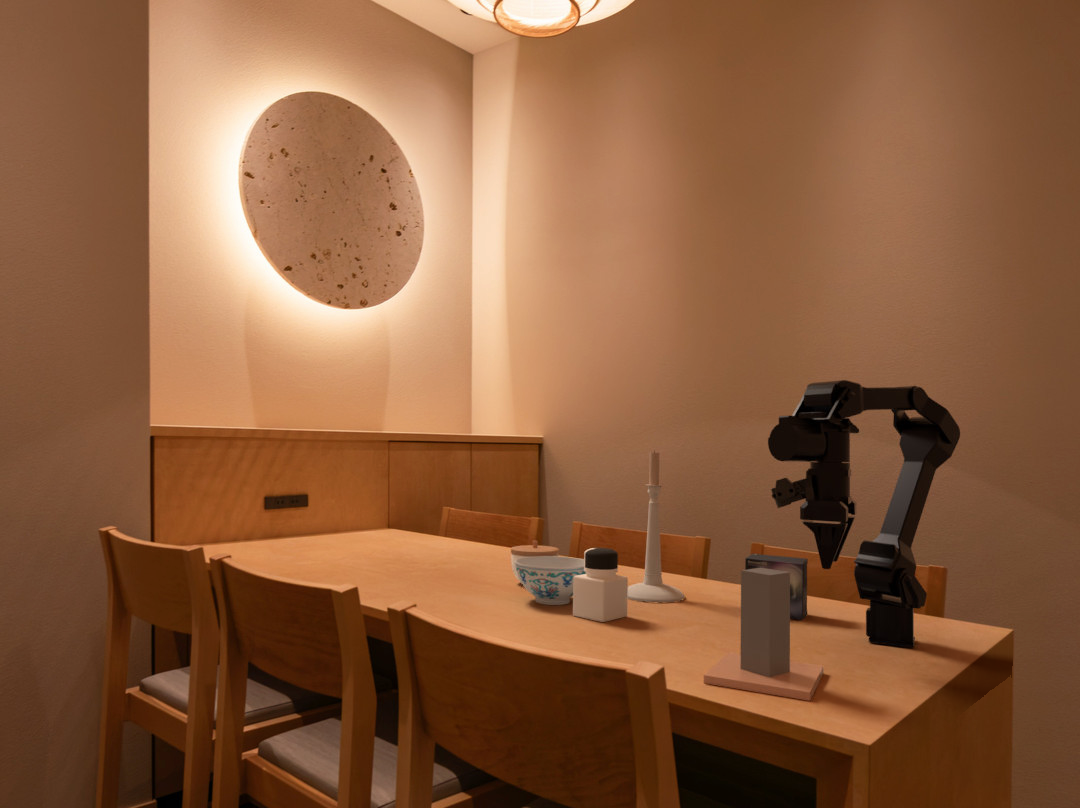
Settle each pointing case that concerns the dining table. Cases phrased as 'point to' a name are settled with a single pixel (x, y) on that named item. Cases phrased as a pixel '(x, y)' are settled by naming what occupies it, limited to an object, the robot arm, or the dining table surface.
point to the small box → (797, 578)
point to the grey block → (765, 621)
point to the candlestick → (653, 550)
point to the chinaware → (549, 577)
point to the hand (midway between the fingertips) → (829, 564)
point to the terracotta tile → (766, 678)
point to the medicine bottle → (600, 587)
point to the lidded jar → (530, 553)
